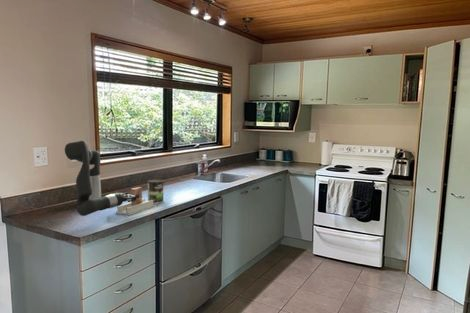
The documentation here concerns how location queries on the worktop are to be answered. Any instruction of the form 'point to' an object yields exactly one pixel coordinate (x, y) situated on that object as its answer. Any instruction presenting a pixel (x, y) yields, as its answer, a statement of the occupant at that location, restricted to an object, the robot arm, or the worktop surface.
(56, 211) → the worktop surface
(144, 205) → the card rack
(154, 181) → the coffee can
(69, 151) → the robot arm
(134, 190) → the wooden card
